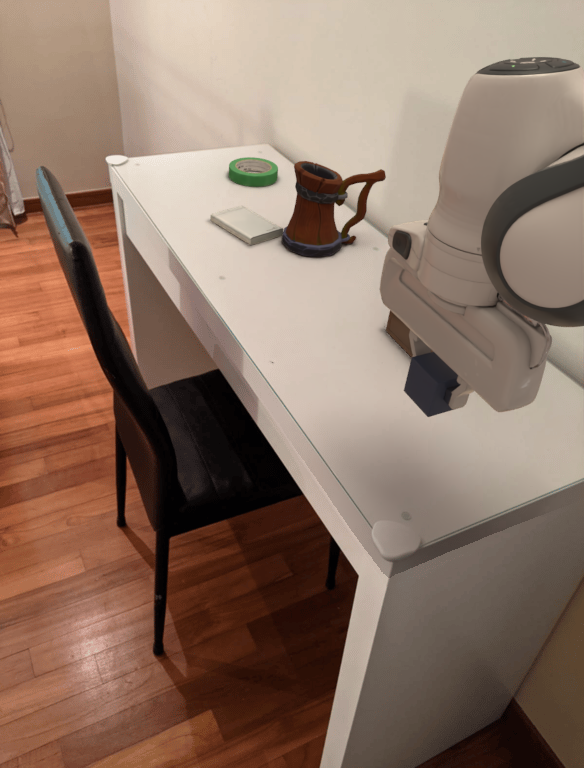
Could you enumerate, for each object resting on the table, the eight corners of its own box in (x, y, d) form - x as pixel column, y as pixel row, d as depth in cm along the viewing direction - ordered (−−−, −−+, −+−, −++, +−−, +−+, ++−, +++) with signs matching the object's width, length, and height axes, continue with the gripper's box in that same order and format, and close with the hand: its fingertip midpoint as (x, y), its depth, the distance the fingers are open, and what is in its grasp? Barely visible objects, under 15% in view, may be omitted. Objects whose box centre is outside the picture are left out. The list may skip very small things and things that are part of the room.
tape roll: (249, 190, 133) (250, 178, 132) (218, 174, 139) (219, 162, 137) (287, 181, 139) (288, 169, 138) (256, 165, 145) (256, 154, 144)
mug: (364, 230, 123) (377, 155, 113) (381, 257, 114) (396, 179, 105) (276, 230, 119) (282, 153, 110) (287, 259, 111) (294, 177, 101)
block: (463, 407, 62) (474, 373, 59) (427, 417, 60) (437, 383, 58) (437, 381, 65) (447, 348, 62) (403, 390, 63) (411, 356, 61)
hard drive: (283, 227, 117) (243, 204, 123) (250, 238, 112) (210, 213, 119) (283, 235, 118) (242, 212, 125) (250, 246, 113) (210, 221, 120)
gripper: (587, 319, 47) (531, 446, 56) (433, 212, 61) (407, 327, 70) (525, 334, 45) (476, 465, 53) (379, 220, 59) (359, 338, 67)
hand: (436, 386), depth 62 cm, fingers closed on block, 4 cm apart
